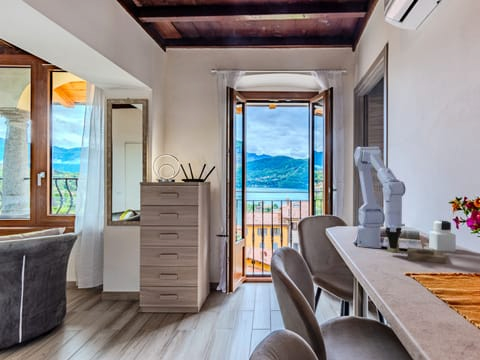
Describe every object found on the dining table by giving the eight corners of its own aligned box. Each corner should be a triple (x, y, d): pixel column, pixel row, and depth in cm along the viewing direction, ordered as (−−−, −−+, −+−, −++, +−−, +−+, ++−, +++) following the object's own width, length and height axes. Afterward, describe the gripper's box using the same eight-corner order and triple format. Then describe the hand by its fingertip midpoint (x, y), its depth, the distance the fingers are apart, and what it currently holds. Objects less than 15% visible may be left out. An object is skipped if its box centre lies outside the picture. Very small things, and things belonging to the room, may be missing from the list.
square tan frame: (407, 259, 121) (407, 254, 121) (407, 252, 132) (407, 247, 132) (445, 263, 116) (445, 258, 115) (442, 255, 126) (442, 250, 126)
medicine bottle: (446, 247, 139) (446, 219, 139) (455, 251, 132) (456, 222, 131) (428, 247, 140) (429, 219, 139) (437, 251, 132) (437, 222, 132)
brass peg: (387, 251, 126) (387, 234, 126) (387, 249, 129) (387, 232, 129) (398, 253, 124) (399, 234, 124) (398, 250, 128) (399, 233, 127)
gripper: (405, 215, 118) (404, 252, 118) (404, 210, 131) (404, 244, 131) (384, 214, 121) (383, 250, 122) (385, 209, 134) (385, 242, 135)
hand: (393, 247), depth 127 cm, fingers closed on brass peg, 4 cm apart
